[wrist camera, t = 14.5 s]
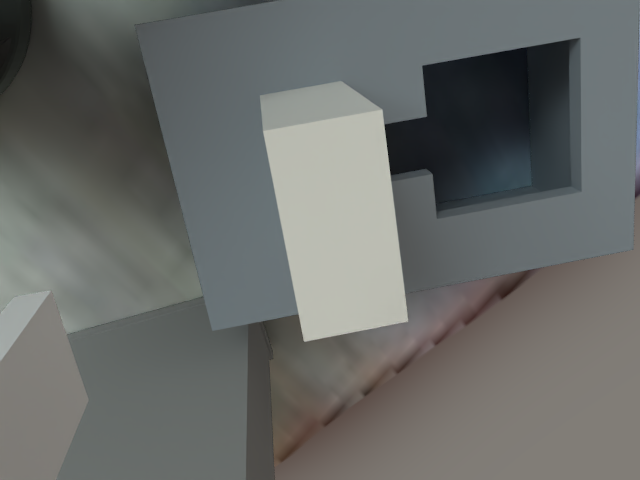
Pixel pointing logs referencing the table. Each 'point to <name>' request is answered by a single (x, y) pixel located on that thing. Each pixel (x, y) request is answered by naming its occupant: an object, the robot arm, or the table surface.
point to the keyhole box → (398, 105)
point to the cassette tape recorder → (173, 399)
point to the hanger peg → (335, 208)
